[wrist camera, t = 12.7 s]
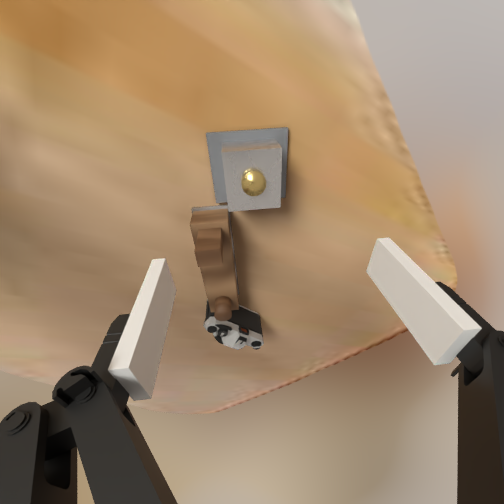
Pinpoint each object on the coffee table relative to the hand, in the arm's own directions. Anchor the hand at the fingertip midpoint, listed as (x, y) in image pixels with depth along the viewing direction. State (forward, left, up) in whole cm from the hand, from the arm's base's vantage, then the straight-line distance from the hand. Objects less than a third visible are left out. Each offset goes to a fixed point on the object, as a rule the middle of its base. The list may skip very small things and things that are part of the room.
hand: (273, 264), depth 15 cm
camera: (-6, -30, -21) cm, 37 cm away
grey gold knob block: (0, 0, -20) cm, 20 cm away
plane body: (-6, -15, -21) cm, 26 cm away
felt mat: (0, 0, -21) cm, 21 cm away
